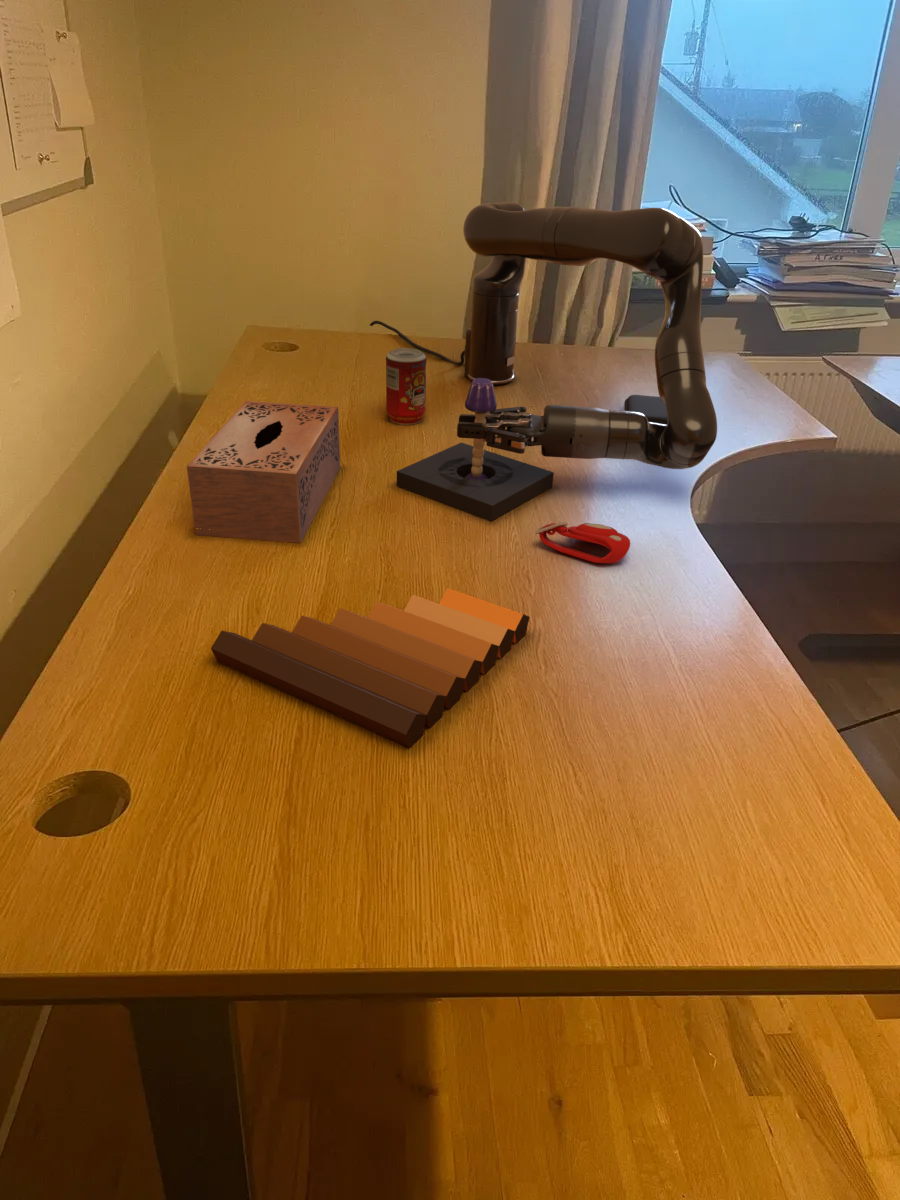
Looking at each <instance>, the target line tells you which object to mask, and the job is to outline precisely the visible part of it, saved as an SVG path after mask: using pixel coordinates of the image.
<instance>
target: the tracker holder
mask: <svg viewBox="0 0 900 1200" xmlns="http://www.w3.org/2000/svg"><path fill="white" fill-rule="evenodd" d="M568 525H569V524H568V522H567V521H566V522H556V523H555V522H554V523H553V522H552V523H551V522H549V523H546V524H544V525H541V526H539V527H538V528H537V530H535V532H534V533H535V535H538V536H539V539H540V541H541V543H543V544H544V545H546V546H547V547H549V548H551V549H553V550H555V551H558V552H561V553H562V554H565V555H569V556H572V557H575V558H579V559H582V560H585V561H588V562H590V563H591V562H592V563H595V564H596V563H597V564H615V563H618V562H619V561H621V560H623V558H625V556H626V555H627V553H628V552H629V550H630V547H631V539H630V538H629V537H628V536H627V535H626V534H623V533H621V532H618V530H617V529H615V528H613V527H611V526H609V525H605V524H601V523H592V522H591V523H590V522H585V523H581V524H578V525H577V526H568ZM567 526H568V527H567ZM556 533H557V534H559V535H560V536H562V537H565V538H570V539H573V540H577V541H584V542H588V543H592V544H597V545H600V546H603V547H604V548H607V549H608V550H609V551H610V552H608V553H607V554H606V555H605V556H603V557H602V556H597V555H594V554H591V553H587V552H585V551H581V550H577V549H575V548H571V547H568V546H565V545H562V544H559V543H557V542H555V541H554V540H551V538H549V537H548V535H549V536H554V535H556Z"/></svg>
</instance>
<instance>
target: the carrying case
mask: <svg viewBox="0 0 900 1200" xmlns="http://www.w3.org/2000/svg"><path fill="white" fill-rule="evenodd" d="M623 408H624V410H623V411H634V412H639V413H642V414H644V415H645V416H646V417H647V419H648V422H652V423H657V424H663V425H668V416H667V409H666V404H664V403H663V402H662V400H661V399H660V396H654V395H644V394H643V395H642V394H631V395H629V396H628V397H627V398H625V400H624V405H623Z"/></svg>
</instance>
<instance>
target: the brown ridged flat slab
mask: <svg viewBox="0 0 900 1200" xmlns="http://www.w3.org/2000/svg"><path fill="white" fill-rule="evenodd" d="M530 618H531V617H530V616H529V615H526V614H524V613H521V612H518V611H515V610H513V609H509V608H506V607H504V606H501V605H499V604H495V603H493V602H490V601H486V600H483V599H481V598H478V597H475V596H472V595H470V594H466V593H463V592H461V591H458V590H455V589H452V588H449V587H447V588H446V590H445V592H444V593H443V596H442V597H441V599H440V601H439V603H437V602H435V601H433V600H429V599H427V598H423V597H421V596H418V595H416V594H412V595H411V596H410V598H409V601H408V603H406V606H405V608H404V610H403V609H400V608H398V607H394V606H392V605H390V604H387V603H383V602H381V601H376V602H375V603H374V605H373V607H372V609H371V611H370V613H369V614H368V616H365V615H361V614H359V613H356V612H353V611H350V610H347V609H344V608H341V607H340V608H339V609H338V610H337V612H336V614H335V615H334V617H333V619H332V621H331V623H330V624H328V623H326V622H323V621H321V620H319V619H316V618H313V617H310V616H306V615H301V616H300V617H299V619H298V620H297V622H296V624H295V626H294V628H293V629H292V631H289V630H286V629H284V628H282V627H280V626H277V625H274V624H269V623H265V622H261V624H260V626H259V627H258V629H257V631H256V632H255V634H254V636H253V637H252V639H250V638H247V637H245V636H242V635H240V634H238V633H236V632H231V631H227V630H221V631H219V633H218V635H217V637H216V639H215V640H214V642H213V644H212V646H211V647H210V650H211V651H212V654H213V655H214V657H215V660H216V662H218V663H220V664H222V665H224V666H227V667H229V668H231V669H233V670H236V671H238V672H240V673H242V674H245V675H246V676H249V677H251V678H252V679H253V678H254V679H255V680H258V681H260V682H262V683H265V684H267V685H269V686H271V687H273V688H275V689H278V690H280V691H282V692H284V693H287V694H289V695H291V696H294V697H296V698H298V699H300V700H302V701H304V702H306V703H309V704H311V705H313V706H315V707H318V708H319V709H323V710H324V711H327V712H329V713H331V714H334V715H336V716H338V717H340V718H342V719H345V720H346V721H349V722H350V723H353V724H356V725H357V726H360V727H362V728H364V729H367V730H368V731H371V732H372V733H375V734H378V735H379V736H382V737H384V738H386V739H389V740H391V741H394V742H396V743H397V744H399V745H402V746H404V747H407V748H408V749H410V748H412V747H413V746H414V744H416V743H417V742H418V741H419V740H420V739H421V738H422V737H423V735H424V731H425V727H426V728H429V729H431V728H432V727H433V726H434V725H435V724H436V723H437V722H438V721H439V720H440V719H441V718H442V717H443V715H444V709H448V710H451V708H452V707H453V706H455V705H456V703H458V702H459V701H460V700H461V699H462V695H463V691H465V692H469V691H470V690H471V689H473V687H474V686H475V685H476V684H477V683H478V682H479V679H480V675H481V674H482V675H487V673H489V672H490V670H492V668H494V666H495V665H496V662H497V658H498V659H500V660H501V659H503V657H505V656H506V655H507V654H508V653H509V652H510V651H511V650H512V645H513V644H516V645H517V644H518V643H519V642H520V641H521V640H522V639H523V638H524V637H525V636H526V635H527V630H528V626H529V621H530Z"/></svg>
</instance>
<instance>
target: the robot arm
mask: <svg viewBox="0 0 900 1200" xmlns="http://www.w3.org/2000/svg"><path fill="white" fill-rule="evenodd" d="M462 231H463V232H462V234H463V237H464V240H465V243H466V245H467V246H468V248H469V249H470V250H471V251H473V253H475V254H476V255H478V256H481V257H492V259H491V260H490V262H489V263H488V264H487V265H486V267H484V268H482V270H480V271H479V272H477V273H476V274H475V275H474V276H473V277H472V280H471V281H472V282H471V303H470V304H471V306H470V307H471V308H470V309H471V310H470V327H469V328H467V329H466V330H465V345H464V350H463V351H462V352H461V353H460V361H459V362H458V361H454V360H452V359H450V358H448V357H447V356H444V355H443V354H441V353H439V352H436V351H434V350H431V349H429V348H426V347H423V346H421V345H419V344H417V343H415V342H414V341H412V340H411V339H410V338H409V337H408V336H406V335H405V334H404V333H403V332H400V330H398V329H396V328H395V327H393V326H391V325H388V324H387V323H385V322H383V321H381V320H373V321H372V322H370V324H369V326H370V327H373V326H374V325H381V326H382V327H384V328H386V329H388V330H390V331H392V332H394V333H396V334H397V335H398V336H399V337H400V338H402V339H403V340H404V341H406V342H407V343H408V344H409V345H411V346H412V347H414V348H415V349H417V350H420V351H421V352H425V353H427V354H430V355H433V356H435V357H438V358H440V359H442V360H443V361H445V362H448V363H451V364H455V365H457V366H463V365H464V370H463V371H464V373H463V376H464V377H465V378H468V380H469V381H471V382H472V381H473V380H474V379H477V378H486V379H489V380H491V381H492V383H493V386H497V385H498V386H500V385H506V384H509V383H511V382H513V381H514V377H515V375H514V374H515V373H514V372H515V364H516V343H517V328H518V313H519V298H520V287H521V283H522V281H523V279H524V275H525V270H526V269H525V268H526V260H527V259H529V260H533V261H538V262H544V263H549V264H554V265H560V266H561V265H562V266H567V267H568V266H569V267H585V266H587V265H591V264H593V263H594V262H596V261H597V260H601V259H604V260H610V261H614V262H619V263H623V264H626V265H628V266H630V267H633V268H635V269H636V270H638V271H640V272H642V273H644V274H646V275H647V276H649V277H652V278H653V279H655V280H656V281H659V284H660V287H661V290H662V294H663V298H664V307H665V312H664V316H663V321H662V324H661V326H660V328H659V331H658V334H657V337H656V341H655V346H654V347H655V348H654V367H655V375H656V386H657V392H658V397H660V399H661V400H662V402H663V403H664V404H666V409H667V416H668V425H663V424H657V423H652V422H648V419H647V417H646V416H645V415H644V414H642V413H639V412H634V411H624V410H620V409H619V410H618V409H617V410H616V409H605V408H599V407H594V406H593V407H592V406H579V405H578V406H577V405H559V404H547V405H546V406H545V407H544V409H543V415H538V414H533V413H530V412H527V407H525V406H514V407H513V406H512V407H503V408H496V409H495V410H494V411H492V412H488V413H487V414H486V417H485V419H486V423H485V424H483V423H474V422H475V418H476V417H475V414H467V413H461V414H459V417H458V423H457V427H456V437H458V438H460V439H472V440H474V439H482V438H483V441H484V442H485V444H486V446H487V447H489V448H494V449H497V450H502V451H506V452H511V453H515V454H519V455H520V454H521V455H522V454H525V449H526V448H527V447H528V448H529V447H537V446H538V447H539V446H540V451H541V452H540V453H541V455H542V456H543V457H548V458H563V459H580V460H582V459H583V460H595V459H610V460H611V459H612V460H633V461H638V462H639V463H640V462H641V463H644V464H647V465H650V466H655V467H659V468H664V469H669V470H687V469H691V468H693V467H694V468H695V467H696V466H698V465H699V464H700V463H702V461H703V460H704V459H705V458H706V457H707V455H708V453H709V452H710V450H711V449H712V447H713V446H714V444H715V442H716V441H717V436H718V419H717V413H716V409H715V406H714V403H713V399H712V397H711V394H710V392H709V389H708V387H707V378H706V377H707V376H706V368H705V359H704V352H703V342H702V333H701V332H702V331H701V330H702V329H701V327H702V326H701V325H702V324H701V321H702V320H701V319H702V318H701V317H702V292H703V290H702V289H703V269H704V243H703V242H704V241H703V238H702V235H701V233H700V231H699V230H698V229H697V227H695V226H694V225H693V224H691V222H689V221H687V220H686V219H684V218H682V217H681V216H679V215H677V214H676V213H675V212H673V211H671V210H669V209H666V208H662V207H644V208H643V207H642V208H634V209H625V210H606V209H601V208H600V209H599V208H588V207H581V206H580V207H579V206H548V207H547V206H546V207H539V208H530V209H525V208H524V207H523V206H522V205H521V204H520V203H518V202H515V201H503V202H502V201H501V202H489V203H488V202H487V203H481V204H478V205H477V206H475V207H473V208H472V209H470V211H469V212H468V213H467V215H466V217H465V219H464V221H463V228H462Z"/></svg>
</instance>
